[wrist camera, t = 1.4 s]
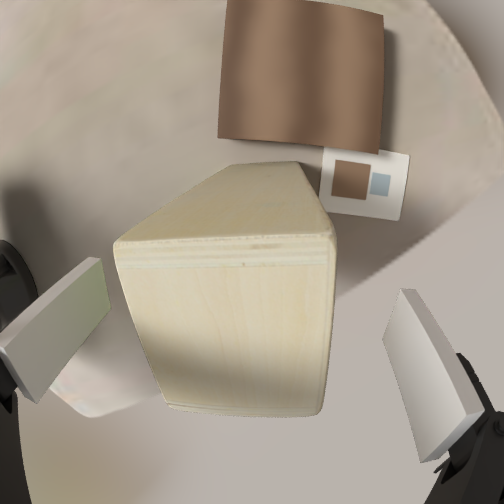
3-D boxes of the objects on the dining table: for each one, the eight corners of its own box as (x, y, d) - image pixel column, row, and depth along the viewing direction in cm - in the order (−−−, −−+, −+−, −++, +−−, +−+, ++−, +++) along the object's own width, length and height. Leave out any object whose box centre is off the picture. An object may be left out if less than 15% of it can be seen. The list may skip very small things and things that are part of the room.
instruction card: (316, 210, 28) (317, 211, 28) (324, 140, 25) (324, 140, 25) (398, 220, 27) (399, 221, 27) (408, 155, 24) (410, 155, 24)
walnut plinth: (224, 137, 26) (217, 138, 23) (232, 9, 20) (227, -3, 17) (368, 152, 25) (378, 154, 22) (373, 24, 19) (383, 15, 17)
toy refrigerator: (221, 163, 27) (89, 244, 8) (297, 158, 26) (347, 233, 7) (229, 239, 30) (155, 410, 11) (300, 236, 29) (324, 419, 10)
